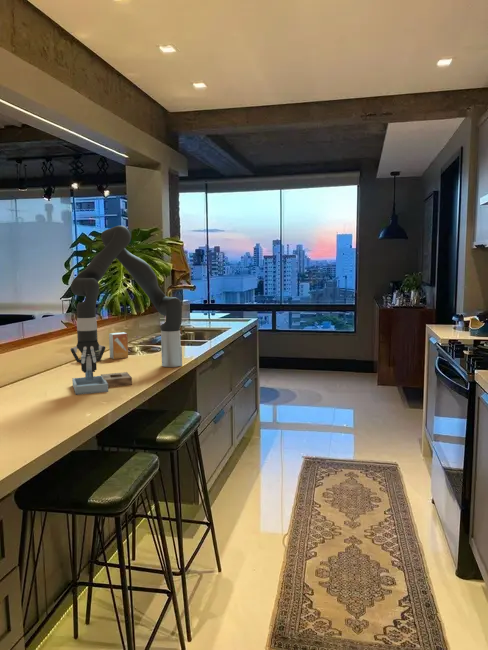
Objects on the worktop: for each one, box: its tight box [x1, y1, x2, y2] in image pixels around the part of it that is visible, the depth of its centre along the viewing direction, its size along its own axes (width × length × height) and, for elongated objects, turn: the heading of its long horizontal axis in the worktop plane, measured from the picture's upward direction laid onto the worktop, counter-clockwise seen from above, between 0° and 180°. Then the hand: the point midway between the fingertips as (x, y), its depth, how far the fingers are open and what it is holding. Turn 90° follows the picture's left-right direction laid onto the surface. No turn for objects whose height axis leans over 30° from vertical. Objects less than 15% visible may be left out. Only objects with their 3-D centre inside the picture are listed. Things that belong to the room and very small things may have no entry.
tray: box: [72, 375, 109, 396], centre depth 199 cm, size 12×16×3 cm
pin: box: [84, 354, 94, 380], centre depth 199 cm, size 3×3×10 cm
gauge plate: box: [100, 371, 133, 388], centre depth 208 cm, size 11×11×3 cm
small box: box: [108, 331, 129, 360], centre depth 264 cm, size 8×6×13 cm
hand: (89, 371), depth 199 cm, fingers closed on pin, 3 cm apart
